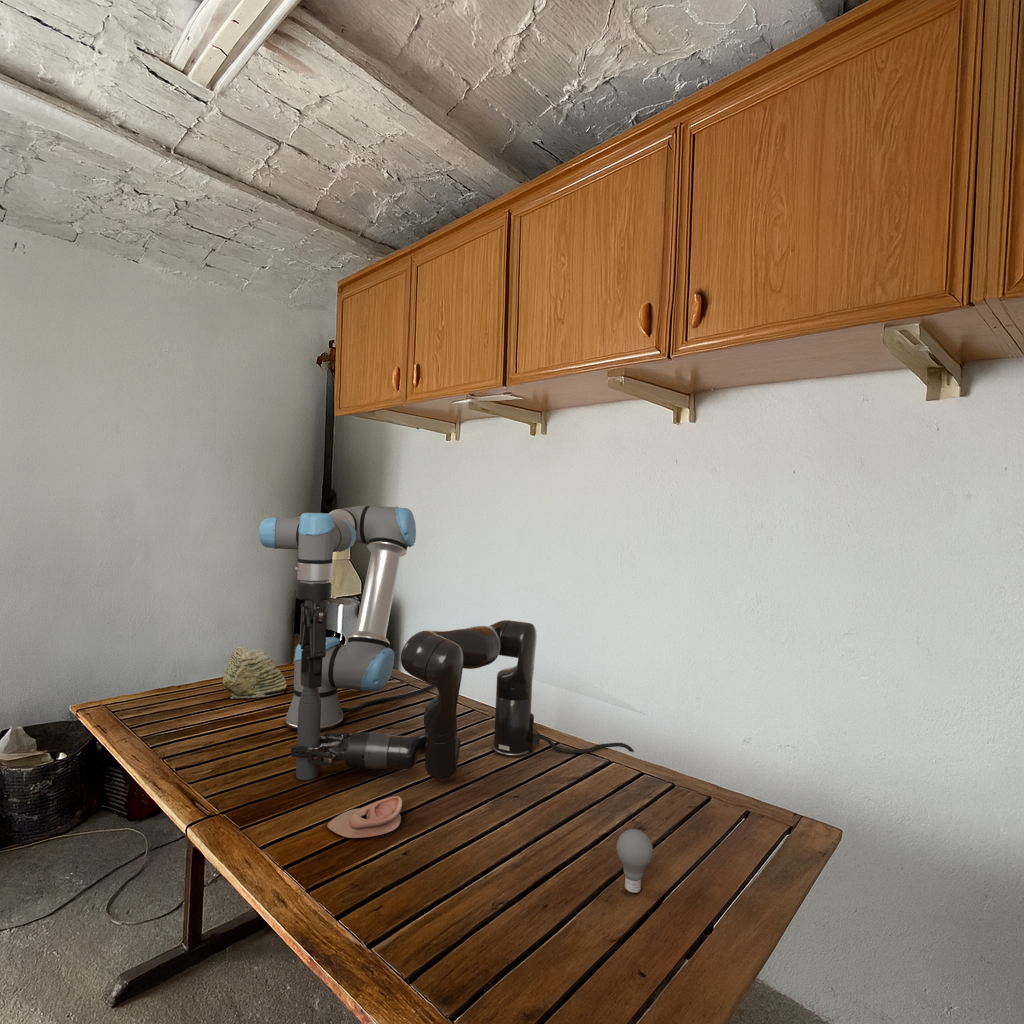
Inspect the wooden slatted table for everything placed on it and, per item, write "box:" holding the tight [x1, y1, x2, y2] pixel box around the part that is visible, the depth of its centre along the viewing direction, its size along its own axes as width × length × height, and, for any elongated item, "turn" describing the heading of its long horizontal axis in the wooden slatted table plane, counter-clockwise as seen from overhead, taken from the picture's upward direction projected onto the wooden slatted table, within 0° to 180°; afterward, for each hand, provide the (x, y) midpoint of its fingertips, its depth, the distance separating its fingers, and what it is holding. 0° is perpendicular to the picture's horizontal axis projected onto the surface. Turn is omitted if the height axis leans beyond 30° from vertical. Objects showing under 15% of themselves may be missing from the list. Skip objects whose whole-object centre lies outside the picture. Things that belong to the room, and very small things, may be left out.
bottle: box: [295, 686, 321, 781], centre depth 143 cm, size 5×5×23 cm
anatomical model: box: [327, 795, 403, 839], centre depth 123 cm, size 13×4×12 cm
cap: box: [301, 672, 309, 687], centre depth 143 cm, size 4×4×2 cm
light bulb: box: [615, 828, 654, 894], centre depth 106 cm, size 6×6×10 cm
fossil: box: [222, 646, 288, 699], centre depth 198 cm, size 9×18×15 cm, turn 132°
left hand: (310, 682), depth 143 cm, fingers open, 7 cm apart
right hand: (296, 746), depth 144 cm, fingers closed on bottle, 5 cm apart
